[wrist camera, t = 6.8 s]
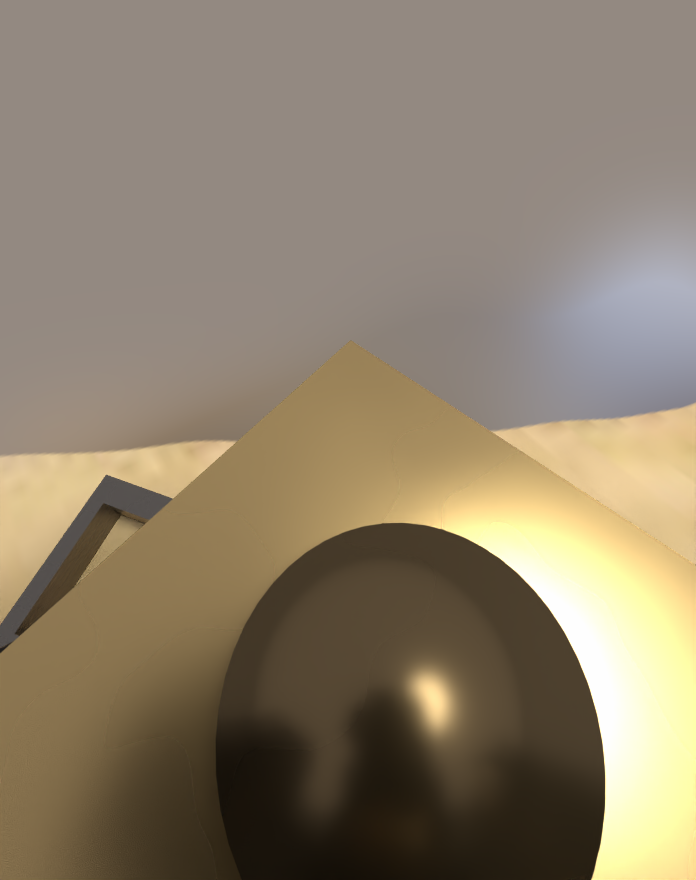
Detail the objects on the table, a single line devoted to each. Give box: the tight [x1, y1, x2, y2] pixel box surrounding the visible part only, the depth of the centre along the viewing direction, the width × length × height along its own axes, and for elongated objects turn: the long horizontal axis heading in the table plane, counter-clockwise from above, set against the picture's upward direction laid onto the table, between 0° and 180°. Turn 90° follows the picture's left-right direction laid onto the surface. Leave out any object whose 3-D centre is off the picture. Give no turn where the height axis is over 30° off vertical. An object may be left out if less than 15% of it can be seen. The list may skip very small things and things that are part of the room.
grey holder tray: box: [0, 475, 172, 648], centre depth 19 cm, size 12×9×2 cm
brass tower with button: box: [0, 341, 696, 880], centre depth 8 cm, size 5×5×12 cm
